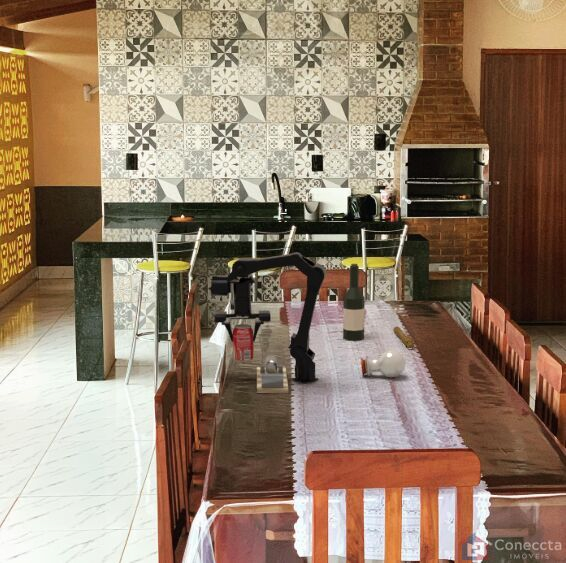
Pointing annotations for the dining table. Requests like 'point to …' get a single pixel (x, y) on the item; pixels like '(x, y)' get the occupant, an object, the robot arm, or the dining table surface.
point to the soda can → (243, 343)
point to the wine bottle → (353, 308)
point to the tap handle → (404, 337)
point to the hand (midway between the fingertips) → (243, 341)
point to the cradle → (272, 380)
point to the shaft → (271, 364)
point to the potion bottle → (385, 364)
